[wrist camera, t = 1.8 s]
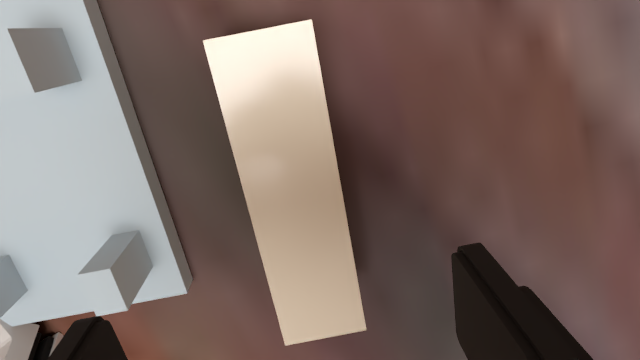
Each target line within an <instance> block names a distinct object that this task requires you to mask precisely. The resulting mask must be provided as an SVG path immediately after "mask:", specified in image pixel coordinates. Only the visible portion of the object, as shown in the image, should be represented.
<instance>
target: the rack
mask: <svg viewBox="0 0 640 360" xmlns="http://www.w3.org/2000/svg"><path fill="white" fill-rule="evenodd" d="M192 280H193V278H192V275H191V272H190V269H189V266H188V264H187V261H186V258H185V255H184V252H183V249H182V246H181V243H180V240H179V237H178V235H177V232H176V229H175V226H174V223H173V220H172V217H171V214H170V211H169V209H168V206H167V203H166V200H165V197H164V194H163V191H162V188H161V185H160V182H159V180H158V177H157V174H156V171H155V168H154V165H153V162H152V159H151V156H150V154H149V151H148V148H147V145H146V142H145V139H144V136H143V133H142V130H141V127H140V125H139V122H138V119H137V116H136V113H135V110H134V107H133V104H132V101H131V98H130V96H129V93H128V90H127V87H126V84H125V81H124V78H123V75H122V72H121V70H120V67H119V64H118V61H117V58H116V55H115V52H114V49H113V46H112V43H111V41H110V38H109V35H108V32H107V29H106V26H105V23H104V20H103V17H102V15H101V12H100V9H99V6H98V3H97V0H0V319H1V320H2V321H4V322H6V323H7V324H9V325H11V326H18V325H23V324H28V323H34V322H39V321H44V320H49V319H55V318H60V317H65V316H71V315H76V314H81V313H86V312H92V311H94V312H95V314H96V316H101V315H106V314H112V313H117V312H122V311H128V309H129V307H130V306H131V304H134V303H139V302H145V301H150V300H155V299H161V298H166V297H171V296H176V295H182V294H187V293H188V291H189V288H190V285H191V283H192Z"/></svg>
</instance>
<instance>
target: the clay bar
mask: <svg viewBox="0 0 640 360" xmlns="http://www.w3.org/2000/svg"><path fill="white" fill-rule="evenodd" d="M203 44H204V47H205V51H206V55H207V58H208V62H209V66H210V69H211V73H212V77H213V80H214V84H215V88H216V92H217V95H218V99H219V103H220V106H221V110H222V114H223V117H224V121H225V125H226V129H227V132H228V136H229V140H230V143H231V147H232V151H233V154H234V158H235V162H236V165H237V169H238V173H239V177H240V180H241V184H242V188H243V191H244V195H245V199H246V202H247V206H248V210H249V214H250V217H251V221H252V225H253V228H254V232H255V236H256V239H257V243H258V247H259V250H260V254H261V258H262V262H263V265H264V269H265V273H266V276H267V280H268V284H269V287H270V291H271V295H272V299H273V302H274V306H275V310H276V313H277V317H278V321H279V324H280V328H281V332H282V335H283V339H284V343H285V346H286V345H291V344H297V343H302V342H307V341H312V340H318V339H323V338H328V337H333V336H338V335H344V334H349V333H354V332H359V331H365V330H366V325H365V319H364V314H363V308H362V302H361V296H360V291H359V285H358V279H357V274H356V268H355V262H354V257H353V251H352V245H351V240H350V234H349V228H348V223H347V217H346V211H345V206H344V200H343V194H342V189H341V183H340V177H339V171H338V166H337V160H336V154H335V149H334V143H333V137H332V132H331V126H330V120H329V115H328V109H327V103H326V98H325V92H324V86H323V81H322V75H321V69H320V63H319V58H318V52H317V46H316V41H315V35H314V29H313V24H312V19H311V20H306V21H300V22H295V23H290V24H285V25H280V26H275V27H270V28H265V29H259V30H254V31H249V32H244V33H239V34H234V35H229V36H224V37H218V38H213V39H208V40H203Z"/></svg>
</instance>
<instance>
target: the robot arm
mask: <svg viewBox="0 0 640 360" xmlns="http://www.w3.org/2000/svg"><path fill="white" fill-rule="evenodd" d="M452 273H453V289H454V304H455V320H456V333H457V337H458V340H459V343H460V345H461V347H462V349H463V351H464V353H465V355H466V357H467V358H468V360H593V359H592V358H591V356H590V355H589V354H588V353H587V352H586V351H585V350H584V349H583V347H582V346H581V345H580V344H579V343H578V342H577V341H576V340H575V338H574V337H573V336H572V335H571V334H570V333H569V332H568V331H567V329H566V328H565V327H564V326H563V325H562V324H561V323H560V322H559V320H558V319H557V318H556V317H555V316H554V315H553V314H552V313H551V311H550V310H549V309H548V308H547V307H546V306H545V305H544V304H543V303H542V301H541V300H540V299H539V298H538V297H537V296H536V295H535V294H534V292H533V291H532V290H531V289H529V288H528V287H526V286H520V287H518V286H517V285H516V284H515V282H514V281H513V280H512V279H511V278H510V277H509V275H508V274H507V273H506V272H505V271H504V269H503V268H502V267H501V266H500V265H499V264H498V262H497V261H496V260H495V259H494V258H493V257H492V255H491V254H490V253H489V252H488V251H487V250H486V248H485V247H484V246H483V245H482V244H481V243H475V244H470V245H464V246H459V247H458V250H457V253H453V254H452ZM47 360H128V359H127V357H126V355H125V353H124V351H123V349H122V347H121V345H120V342H119V340H118V338H117V336H116V334H115V332H114V330H113V328H112V325H111V324H110V322H109V321H107V320H104V319H103V318H102V317H100V316H96V317H91V318H86V319H80V320H77V321H75V322H74V323H73V324H72V325H71V327H70V328H69V329H68V331H67V332H66V334H65V335H64V336H63V338H62V339H61V341H60V342H59V344H58V345H57V346H56V348H55V349H54V351H53V352H52V354H51V355H50V356H49V358H48V359H47Z"/></svg>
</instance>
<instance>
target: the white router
mask: <svg viewBox="0 0 640 360" xmlns="http://www.w3.org/2000/svg"><path fill="white" fill-rule="evenodd" d="M39 326H40V325H37V324H32V323H28V324H23V325H18V326H11V325H9V324H7V323H6V322H4V321H2V320H1V319H0V360H47V359H48V358H49V356H50V355H51V354H52V352H53V351H54V349H55V348H56V346H57V345H58V344H59V342H60V341H61V339H62V338H63V335H62V334H61V333H60V332H58V333H56V334H55V335H54V336H52V337H50V336H48V337H46V338H45V339H44V340H42V341H41V342H40V343H39V340H40V337H41V335H42V333H39V332H38V329H39Z"/></svg>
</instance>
